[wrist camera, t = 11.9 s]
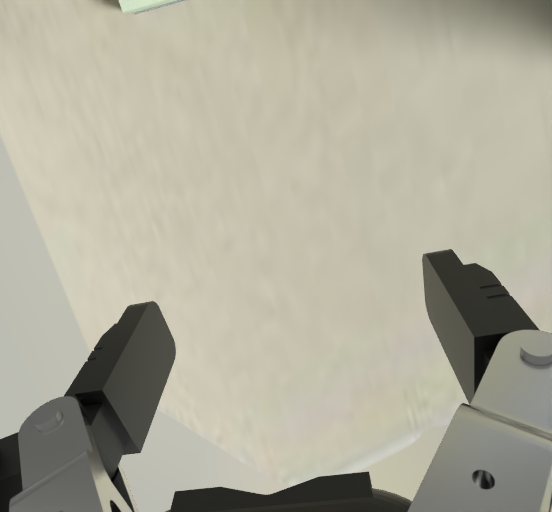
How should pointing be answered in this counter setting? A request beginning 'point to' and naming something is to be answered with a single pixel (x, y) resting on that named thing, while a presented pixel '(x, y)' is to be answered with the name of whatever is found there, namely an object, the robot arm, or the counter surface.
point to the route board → (143, 5)
